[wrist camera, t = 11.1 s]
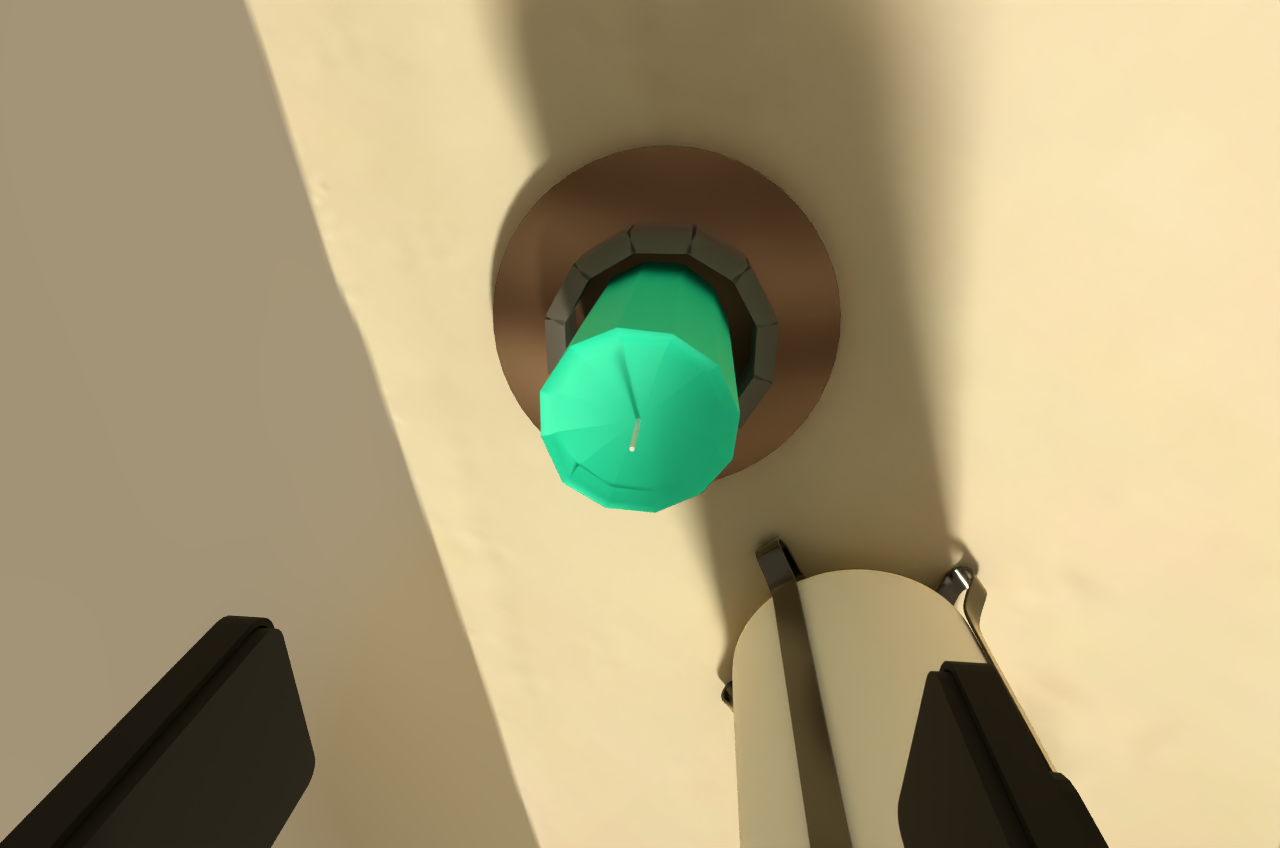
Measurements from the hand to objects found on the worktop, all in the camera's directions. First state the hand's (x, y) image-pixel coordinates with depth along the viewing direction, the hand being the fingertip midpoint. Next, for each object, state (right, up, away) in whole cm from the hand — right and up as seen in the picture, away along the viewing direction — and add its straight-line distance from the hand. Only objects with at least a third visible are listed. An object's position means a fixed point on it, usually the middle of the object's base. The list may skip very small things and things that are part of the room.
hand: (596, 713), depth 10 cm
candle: (+1, +8, +20) cm, 22 cm away
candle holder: (+2, +9, +20) cm, 22 cm away
